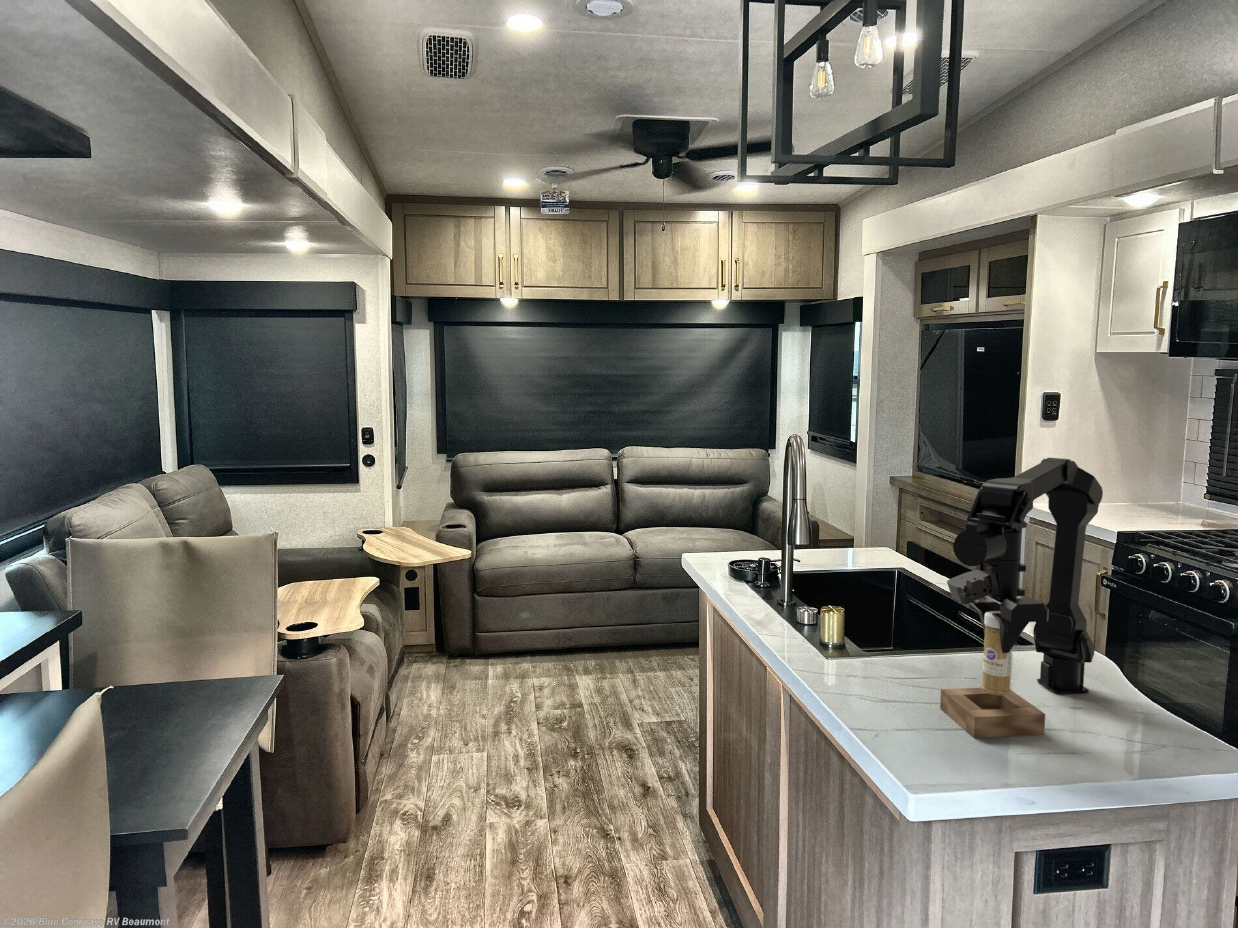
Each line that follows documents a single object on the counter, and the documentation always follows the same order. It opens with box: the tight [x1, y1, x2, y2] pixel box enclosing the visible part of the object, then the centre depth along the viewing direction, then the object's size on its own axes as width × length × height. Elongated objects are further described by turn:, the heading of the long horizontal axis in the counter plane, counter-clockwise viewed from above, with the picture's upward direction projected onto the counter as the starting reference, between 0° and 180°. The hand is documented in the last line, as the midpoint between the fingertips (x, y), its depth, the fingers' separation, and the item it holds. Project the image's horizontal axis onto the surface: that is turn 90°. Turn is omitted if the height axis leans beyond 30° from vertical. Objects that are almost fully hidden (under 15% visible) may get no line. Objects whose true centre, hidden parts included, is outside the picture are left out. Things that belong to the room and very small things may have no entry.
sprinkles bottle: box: [980, 611, 1013, 695], centre depth 145 cm, size 5×5×13 cm
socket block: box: [939, 687, 1046, 738], centre depth 146 cm, size 12×12×4 cm
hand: (997, 647), depth 145 cm, fingers closed on sprinkles bottle, 4 cm apart
